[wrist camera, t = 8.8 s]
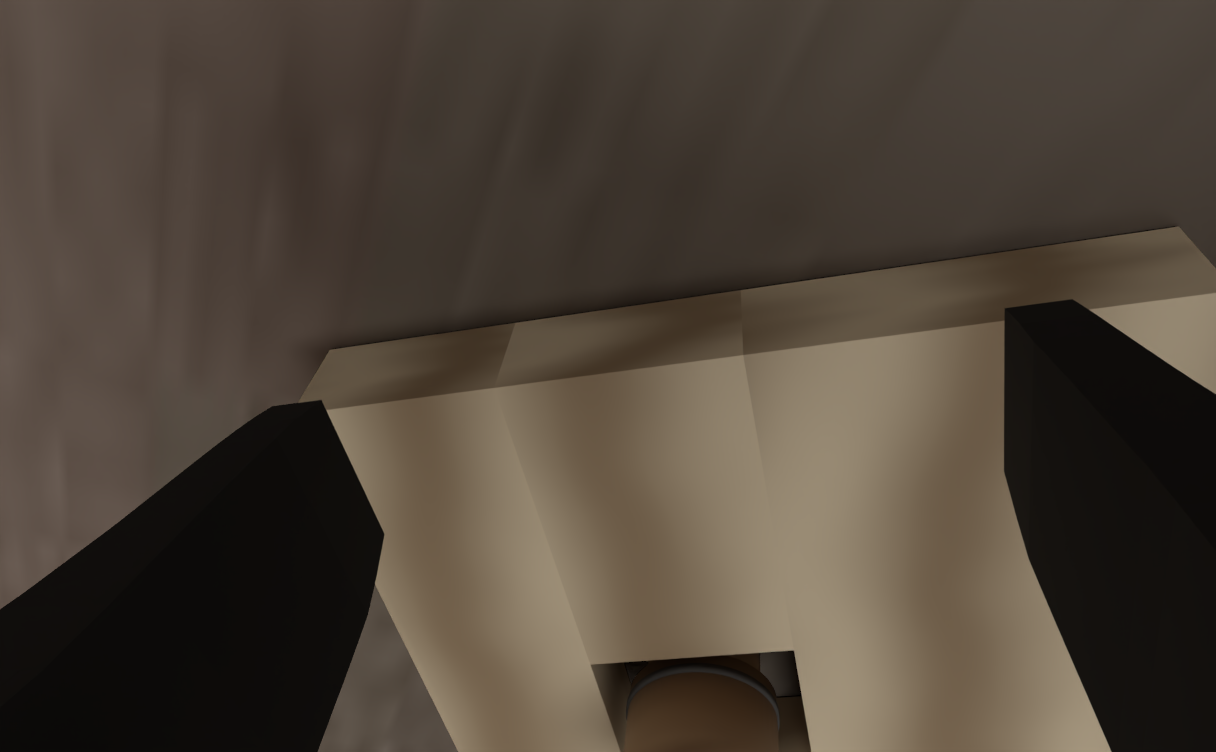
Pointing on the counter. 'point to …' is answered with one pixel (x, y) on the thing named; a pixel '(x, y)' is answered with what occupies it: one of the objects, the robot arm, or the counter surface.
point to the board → (742, 499)
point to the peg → (702, 706)
